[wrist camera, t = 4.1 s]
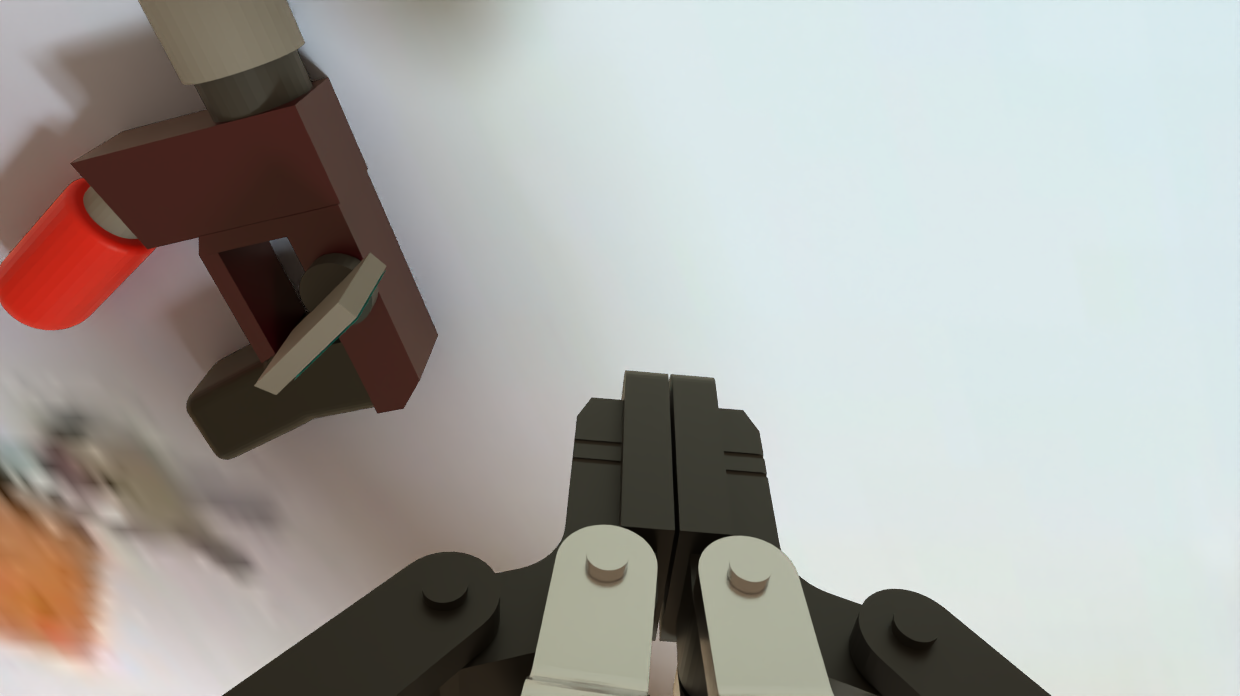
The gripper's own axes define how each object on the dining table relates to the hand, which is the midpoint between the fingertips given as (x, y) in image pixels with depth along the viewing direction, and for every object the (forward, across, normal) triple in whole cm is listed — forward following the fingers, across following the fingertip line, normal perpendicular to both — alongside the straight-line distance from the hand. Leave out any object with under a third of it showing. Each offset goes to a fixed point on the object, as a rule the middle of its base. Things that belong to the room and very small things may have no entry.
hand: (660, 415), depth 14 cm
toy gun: (+7, +11, 0) cm, 13 cm away
